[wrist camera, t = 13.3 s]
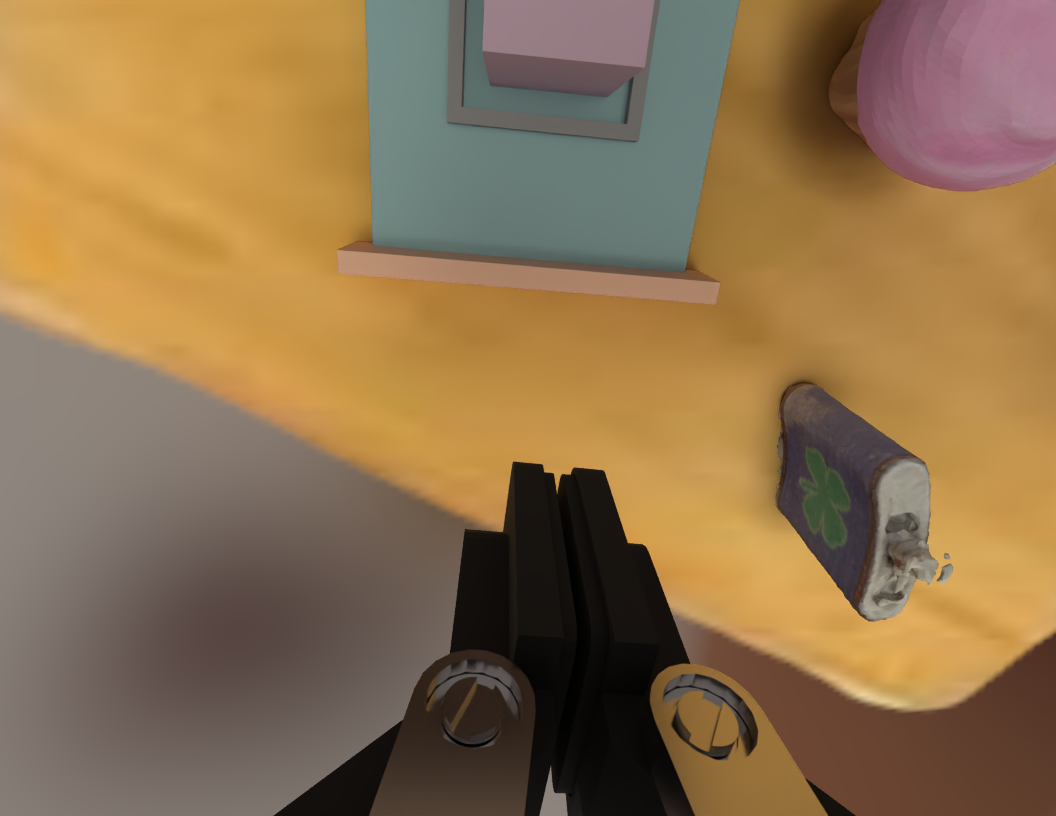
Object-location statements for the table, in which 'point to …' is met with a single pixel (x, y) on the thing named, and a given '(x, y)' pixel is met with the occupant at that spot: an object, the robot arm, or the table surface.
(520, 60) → the block
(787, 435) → the flask
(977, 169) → the cupcake
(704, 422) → the table surface
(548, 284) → the tray
